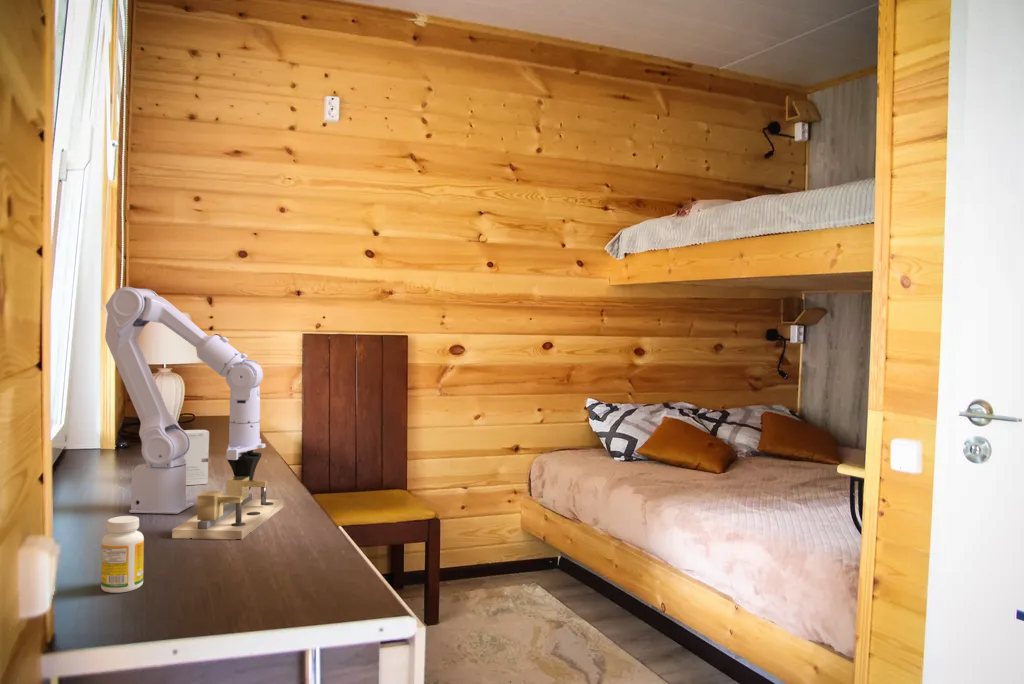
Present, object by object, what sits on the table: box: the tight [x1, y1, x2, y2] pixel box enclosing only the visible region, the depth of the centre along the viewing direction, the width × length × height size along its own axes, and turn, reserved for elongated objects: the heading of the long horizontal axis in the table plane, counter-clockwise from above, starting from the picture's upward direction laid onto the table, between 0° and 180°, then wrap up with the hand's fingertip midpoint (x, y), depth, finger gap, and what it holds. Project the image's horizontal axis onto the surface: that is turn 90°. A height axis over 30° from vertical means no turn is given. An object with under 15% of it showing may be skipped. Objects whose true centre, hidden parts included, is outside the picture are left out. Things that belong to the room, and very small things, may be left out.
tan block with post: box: [225, 475, 268, 505], centre depth 154 cm, size 7×4×5 cm, turn 89°
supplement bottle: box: [100, 515, 145, 594], centre depth 112 cm, size 5×5×10 cm
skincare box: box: [183, 429, 210, 486], centre depth 182 cm, size 6×4×12 cm
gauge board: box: [171, 490, 284, 540], centre depth 149 cm, size 12×24×7 cm, turn 179°
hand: (244, 490), depth 158 cm, fingers closed
